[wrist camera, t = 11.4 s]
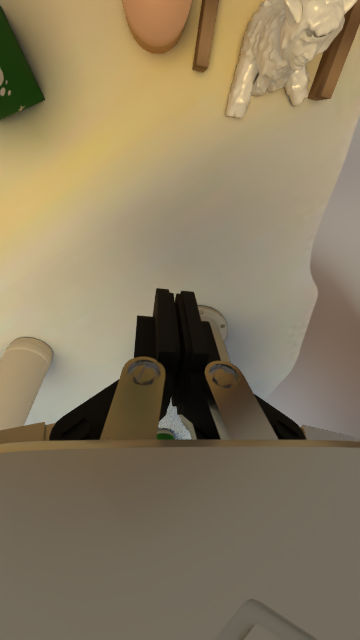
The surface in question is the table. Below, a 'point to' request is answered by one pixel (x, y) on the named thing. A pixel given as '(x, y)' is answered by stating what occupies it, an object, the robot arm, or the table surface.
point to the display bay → (329, 62)
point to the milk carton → (15, 75)
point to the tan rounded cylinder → (156, 22)
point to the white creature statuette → (283, 48)
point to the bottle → (21, 379)
